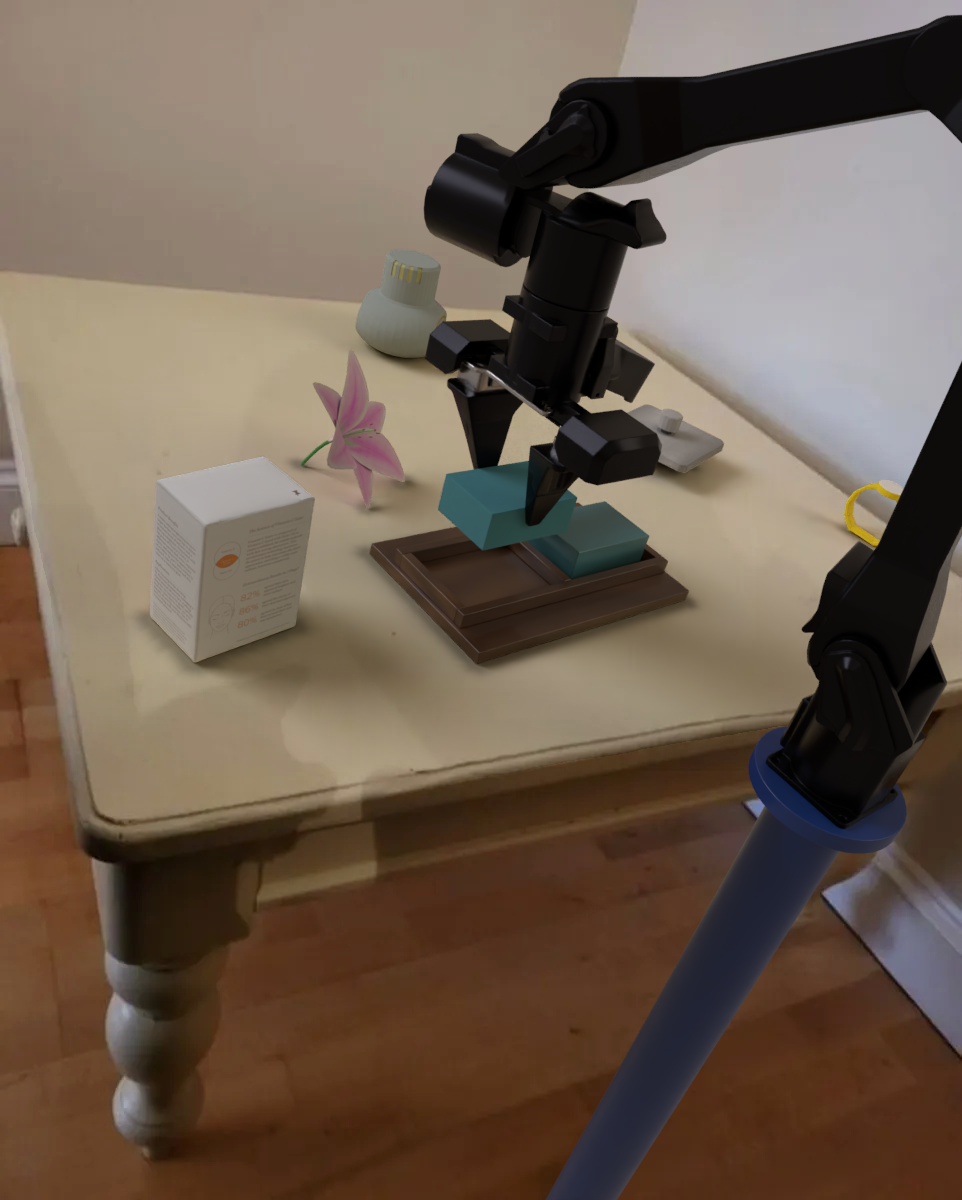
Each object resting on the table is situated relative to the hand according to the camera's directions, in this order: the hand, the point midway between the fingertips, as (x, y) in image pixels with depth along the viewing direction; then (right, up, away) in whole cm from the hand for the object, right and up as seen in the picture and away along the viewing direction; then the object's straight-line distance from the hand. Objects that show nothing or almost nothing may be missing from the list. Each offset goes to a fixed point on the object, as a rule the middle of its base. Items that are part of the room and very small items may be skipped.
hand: (507, 503), depth 74 cm
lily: (-13, +3, +13) cm, 19 cm away
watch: (+36, -1, +27) cm, 45 cm away
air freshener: (-11, +21, +39) cm, 46 cm away
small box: (-19, -9, -6) cm, 22 cm away
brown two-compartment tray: (+2, -5, +7) cm, 9 cm away
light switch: (+16, +8, +32) cm, 36 cm away
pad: (0, -1, +1) cm, 2 cm away
